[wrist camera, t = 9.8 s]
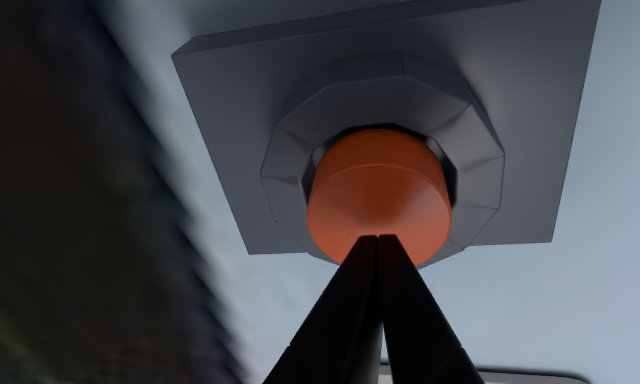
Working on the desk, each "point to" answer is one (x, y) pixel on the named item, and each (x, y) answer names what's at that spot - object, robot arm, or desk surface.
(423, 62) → the button housing
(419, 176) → the power button
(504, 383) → the handheld gaming device
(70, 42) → the desk surface
